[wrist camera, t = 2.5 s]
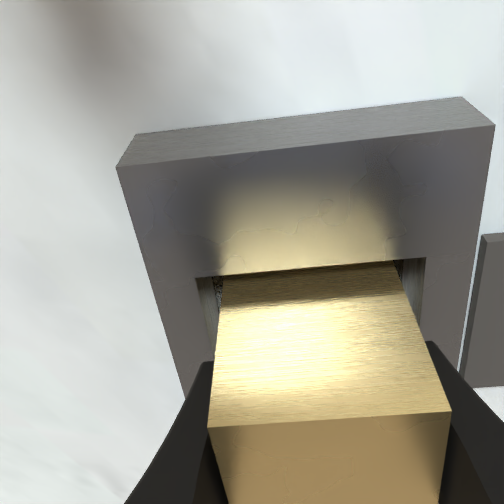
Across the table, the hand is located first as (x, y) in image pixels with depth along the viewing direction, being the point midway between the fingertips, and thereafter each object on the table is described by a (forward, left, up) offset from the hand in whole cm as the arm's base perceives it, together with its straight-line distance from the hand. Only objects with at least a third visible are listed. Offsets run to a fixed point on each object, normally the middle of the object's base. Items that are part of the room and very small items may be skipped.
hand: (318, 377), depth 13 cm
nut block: (0, 0, -3) cm, 3 cm away
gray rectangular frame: (0, 0, -3) cm, 3 cm away
